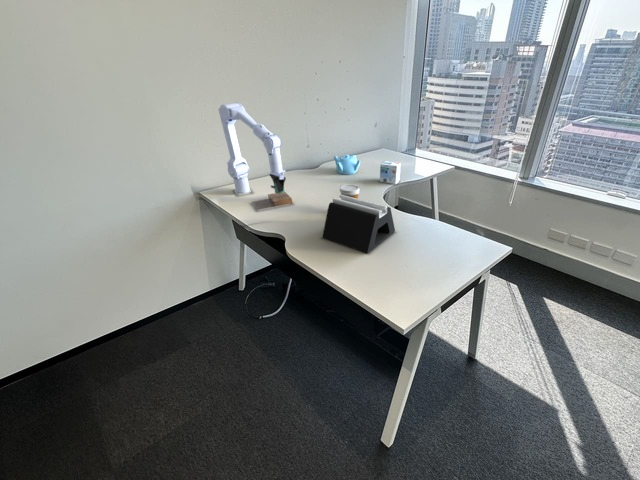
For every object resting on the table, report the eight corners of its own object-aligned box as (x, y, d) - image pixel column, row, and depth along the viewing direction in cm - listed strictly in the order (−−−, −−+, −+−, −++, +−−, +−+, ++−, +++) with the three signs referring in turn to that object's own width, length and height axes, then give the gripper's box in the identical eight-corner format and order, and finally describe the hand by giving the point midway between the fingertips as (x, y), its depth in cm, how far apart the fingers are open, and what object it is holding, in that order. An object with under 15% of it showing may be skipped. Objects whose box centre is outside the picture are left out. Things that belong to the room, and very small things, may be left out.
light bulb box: (379, 181, 197) (379, 163, 191) (383, 178, 202) (383, 160, 196) (396, 184, 194) (397, 166, 188) (399, 180, 199) (400, 163, 193)
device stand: (367, 253, 128) (368, 218, 120) (322, 238, 138) (320, 205, 129) (394, 231, 144) (397, 199, 135) (352, 219, 154) (352, 188, 145)
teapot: (361, 175, 207) (361, 157, 201) (337, 176, 204) (337, 158, 198) (356, 167, 219) (356, 151, 213) (334, 168, 216) (333, 152, 210)
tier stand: (251, 203, 167) (250, 197, 165) (285, 197, 175) (284, 191, 173) (257, 211, 159) (255, 205, 157) (292, 204, 167) (291, 198, 165)
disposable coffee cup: (362, 209, 164) (362, 185, 157) (355, 216, 156) (355, 192, 149) (344, 206, 166) (344, 183, 159) (337, 213, 159) (336, 189, 152)
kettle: (282, 189, 169) (281, 179, 166) (285, 192, 166) (284, 182, 162) (270, 191, 166) (268, 181, 163) (273, 194, 163) (271, 184, 160)
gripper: (288, 165, 154) (291, 192, 162) (278, 157, 164) (282, 183, 172) (273, 167, 151) (277, 195, 159) (264, 159, 161) (269, 186, 169)
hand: (279, 189), depth 166 cm, fingers closed on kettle, 5 cm apart
